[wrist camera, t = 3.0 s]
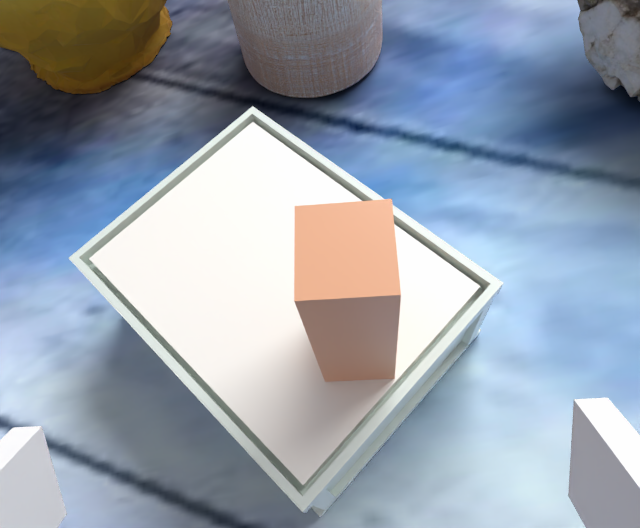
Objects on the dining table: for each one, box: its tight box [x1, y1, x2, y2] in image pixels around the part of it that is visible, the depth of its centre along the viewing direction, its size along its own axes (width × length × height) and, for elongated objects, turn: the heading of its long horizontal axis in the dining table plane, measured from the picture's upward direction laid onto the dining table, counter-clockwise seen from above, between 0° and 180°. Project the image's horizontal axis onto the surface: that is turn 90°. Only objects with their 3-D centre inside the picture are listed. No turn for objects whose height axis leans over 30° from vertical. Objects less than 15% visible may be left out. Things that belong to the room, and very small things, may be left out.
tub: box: [69, 106, 503, 517], centre depth 29 cm, size 17×13×7 cm
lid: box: [89, 122, 480, 487], centre depth 22 cm, size 16×12×10 cm
